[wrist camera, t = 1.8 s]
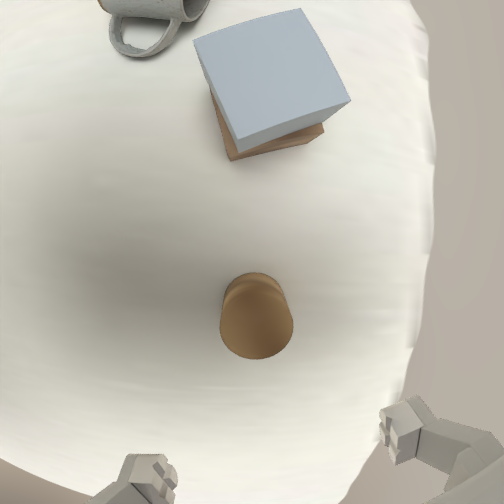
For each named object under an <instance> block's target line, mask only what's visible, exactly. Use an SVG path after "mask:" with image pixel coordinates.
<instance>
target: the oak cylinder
mask: <svg viewBox="0 0 504 504" xmlns="http://www.w3.org/2000/svg"><path fill="white" fill-rule="evenodd" d="M292 333H293V319H292V316H291V313H290V311H289V308H288V305H287V303H286V300H285V297H284V295H283V292H282V290H281V287H280V286H279V284H278V283H277V282H276V281H275V280H274V279H273V278H271V277H269V276H267V275H265V274H262V273H247V274H244V275H241V276H239V277H237V278H236V279H235V280H233V281H232V282H231V283H230V285H229V286H228V288H227V290H226V292H225V296H224V302H223V308H222V315H221V321H220V334H221V337H222V340H223V342H224V343H225V345H226V346H227V347H228V348H229V349H230V350H231V351H232V352H233V353H235V354H237V355H238V356H241V357H243V358H247V359H264V358H268V357H271V356H273V355H275V354H277V353H278V352H280V351H281V350H282V349H283V348H284V347H285V346H286V345H287V344H288V342H289V341H290V338H291V336H292Z"/></svg>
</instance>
